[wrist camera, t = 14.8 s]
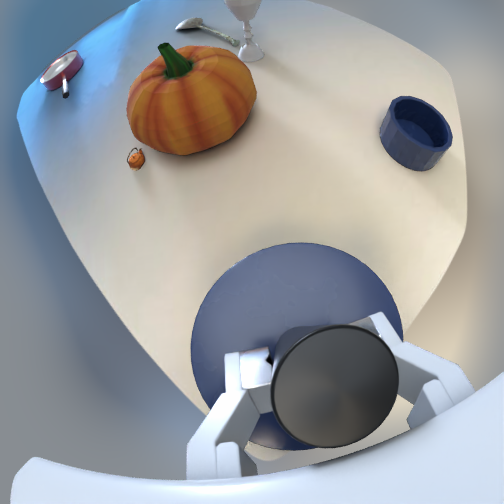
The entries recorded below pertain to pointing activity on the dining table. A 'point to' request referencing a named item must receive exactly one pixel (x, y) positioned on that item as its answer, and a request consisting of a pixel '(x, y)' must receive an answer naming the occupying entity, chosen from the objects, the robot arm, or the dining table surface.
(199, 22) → the soupspoon
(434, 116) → the blue round container
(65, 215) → the dining table surface
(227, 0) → the chalice
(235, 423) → the robot arm
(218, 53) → the pumpkin
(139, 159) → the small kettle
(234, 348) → the lid
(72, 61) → the frying pan
